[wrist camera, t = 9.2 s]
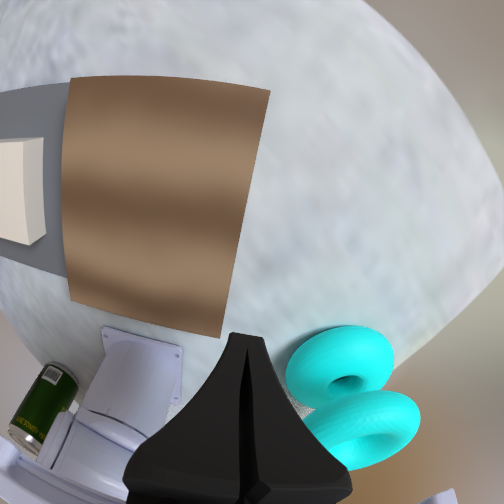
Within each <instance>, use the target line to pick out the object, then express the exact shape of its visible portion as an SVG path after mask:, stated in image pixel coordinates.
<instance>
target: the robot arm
mask: <svg viewBox="0 0 504 504" xmlns="http://www.w3.org/2000/svg"><path fill="white" fill-rule="evenodd" d="M101 334H102V340H103V346H104V351H105V358H104V360H103V362H102V364H101V365H100V367H99V369H98V371H97V373H96V375H95V377H94V379H93V381H92V382H91V384H90V386H89V388H88V390H87V392H86V394H85V396H84V398H83V400H82V402H81V404H80V406H79V408H78V411H77V412H76V413H75V414H74V415H73V414H72V413H71V412H69V411H66V412H60V413H58V415H57V417H56V419H55V421H54V422H53V424H52V426H51V428H50V430H49V432H48V434H47V436H46V438H45V441H44V443H43V445H42V447H41V449H40V451H39V454H38V456H37V458H36V461H35V460H33V459H32V458H30V457H28V456H26V455H25V454H23V453H22V452H21V451H20V450H19V449H18V447H17V446H15V445H14V444H13V443H12V442H11V441H9V440H8V439H6V438H5V437H4V436H2V435H1V434H0V497H1V498H2V499H4V500H5V501H6V502H8V503H9V504H336V503H337V502H339V501H341V500H342V499H344V498H346V497H347V496H349V495H350V494H351V492H352V490H353V489H352V482H351V478H350V475H349V472H348V469H347V467H346V466H345V465H343V464H342V463H341V462H340V461H339V460H338V459H336V458H335V457H334V456H333V455H332V454H331V453H330V452H329V451H328V450H327V449H326V448H325V447H324V446H323V445H322V444H321V443H320V442H319V441H318V439H317V438H316V437H315V436H314V435H313V433H312V432H311V431H310V430H309V429H308V427H307V426H306V425H305V424H304V422H303V421H302V419H301V418H300V417H299V415H298V414H297V412H296V411H295V409H294V408H293V406H292V404H291V403H290V401H289V399H288V397H287V396H286V394H285V392H284V390H283V388H282V386H281V384H280V382H279V380H278V378H277V375H276V373H275V371H274V368H273V366H272V363H271V361H270V358H269V355H268V352H267V349H266V346H265V342H264V339H263V338H262V337H258V336H252V335H246V334H240V333H235V332H232V333H230V334H229V337H228V341H227V344H226V347H225V349H224V351H223V353H222V355H221V357H220V359H219V361H218V362H217V364H216V366H215V368H214V369H213V371H212V372H211V374H210V375H209V377H208V378H207V380H206V381H205V383H204V384H203V385H202V387H201V388H200V389H199V391H198V392H197V393H196V394H195V395H194V397H193V398H192V399H191V400H190V401H189V402H188V403H187V405H186V406H185V407H184V408H183V409H182V410H181V411H180V412H179V413H178V414H177V415H176V416H175V417H174V418H173V419H171V420H170V421H169V422H168V423H167V424H166V425H165V421H166V417H167V414H168V410H169V406H170V404H173V405H179V404H180V395H181V374H182V357H183V349H182V348H181V347H180V346H177V345H172V344H168V343H164V342H160V341H156V340H152V339H148V338H144V337H140V336H137V335H133V334H130V333H126V332H122V331H119V330H116V329H112V328H109V327H105V326H104V327H103V328H102V329H101ZM176 354H178V355H176ZM164 425H165V426H164ZM417 504H458V503H457V499H456V495H455V492H454V489H453V488H451V489H448V490H446V491H443V492H440V493H438V494H435V495H433V496H431V497H429V498H427V499H425V500H424V501H423V502H421V503H417Z"/></svg>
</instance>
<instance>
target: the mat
mask: <svg viewBox="0 0 504 504" xmlns="http://www.w3.org/2000/svg"><path fill="white" fill-rule="evenodd" d="M69 86H70V82H68V83H58V84H49V85H41V86H34V87H28V88H22V89H16V90H11V91H6V92H1V93H0V139H12V138H40V137H44V139H43V201H44V216H45V228H46V234H45V235H43V236H42V237H41V238H39V239H38V240H36V241H35V242H33V243H32V244H31V245H26V244H22V243H18V242H15V241H11V240H8V239H4V238H1V237H0V255H1V256H4V257H6V258H9V259H12V260H15V261H18V262H20V263H23V264H26V265H29V266H32V267H35V268H38V269H41V270H44V271H47V272H50V273H53V274H57V275H60V276H63V277H66V278H68V277H67V270H66V262H65V253H64V242H63V229H62V210H61V163H62V144H63V132H64V122H65V113H66V105H67V98H68V92H69Z"/></svg>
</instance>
